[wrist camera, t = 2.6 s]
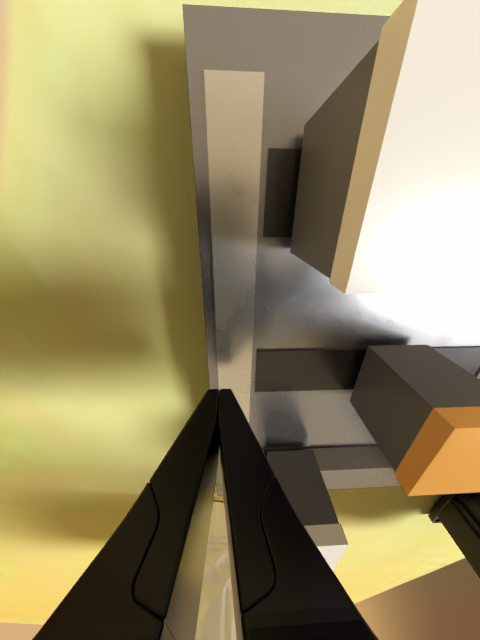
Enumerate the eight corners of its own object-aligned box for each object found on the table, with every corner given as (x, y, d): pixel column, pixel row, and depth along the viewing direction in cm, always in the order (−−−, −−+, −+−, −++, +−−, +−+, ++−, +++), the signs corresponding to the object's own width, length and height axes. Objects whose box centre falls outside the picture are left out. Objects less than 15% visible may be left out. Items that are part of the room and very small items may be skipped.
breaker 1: (314, 449, 11) (348, 544, 8) (305, 481, 13) (331, 573, 9) (266, 451, 11) (282, 548, 8) (263, 483, 12) (275, 577, 9)
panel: (655, 73, 7) (774, 35, 5) (410, 461, 16) (428, 486, 14) (193, 51, 6) (181, 0, 4) (218, 469, 15) (217, 497, 13)
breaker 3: (428, 343, 8) (552, 425, 5) (401, 400, 10) (485, 492, 7) (367, 344, 8) (455, 428, 5) (348, 401, 10) (407, 496, 6)
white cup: (146, 506, 17) (53, 840, 8) (243, 488, 16) (261, 824, 7) (182, 545, 20) (146, 804, 11) (263, 531, 20) (291, 792, 11)
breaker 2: (402, 125, 5) (669, -8, 2) (367, 254, 7) (494, 293, 3) (302, 122, 5) (424, -25, 2) (288, 254, 7) (344, 294, 3)
